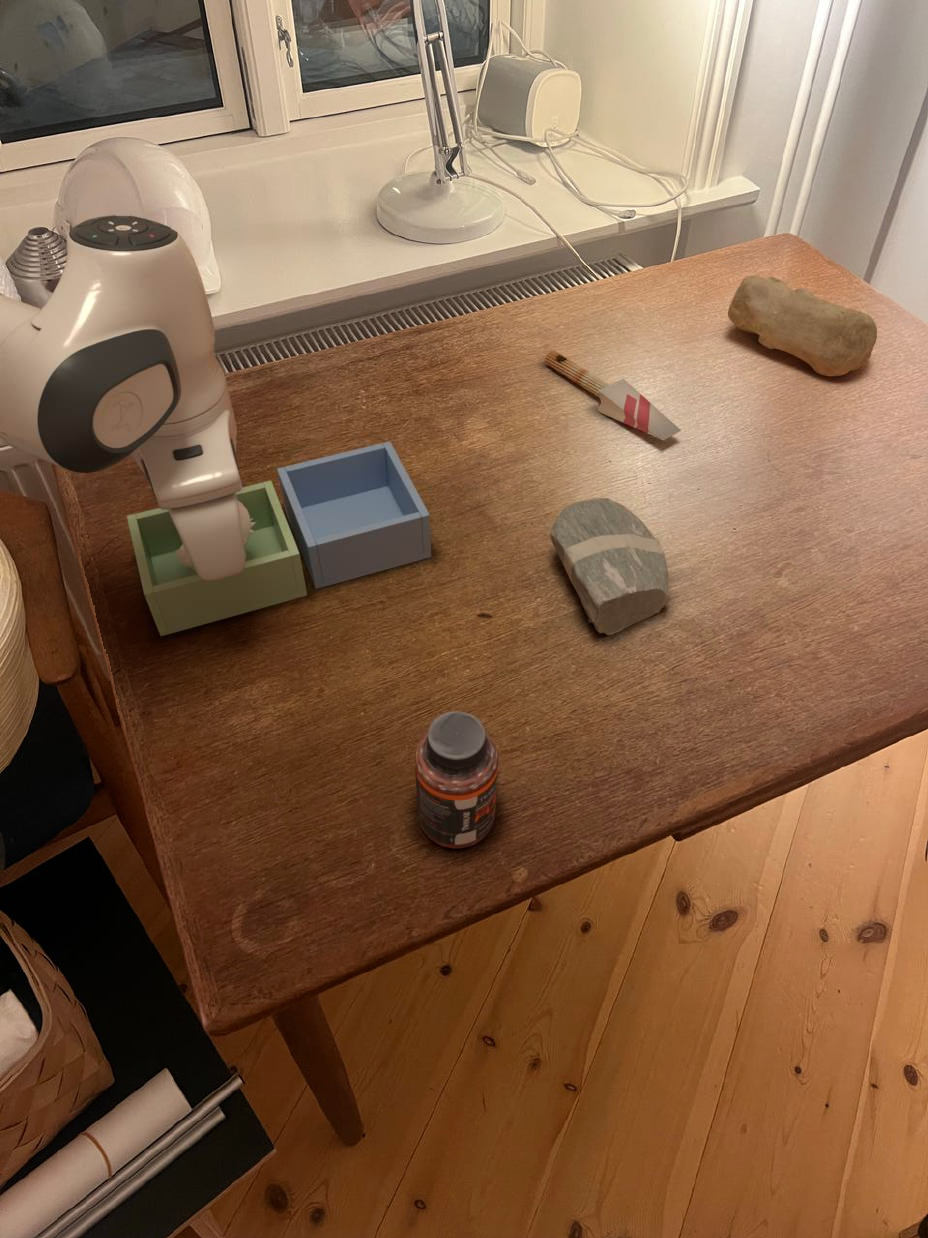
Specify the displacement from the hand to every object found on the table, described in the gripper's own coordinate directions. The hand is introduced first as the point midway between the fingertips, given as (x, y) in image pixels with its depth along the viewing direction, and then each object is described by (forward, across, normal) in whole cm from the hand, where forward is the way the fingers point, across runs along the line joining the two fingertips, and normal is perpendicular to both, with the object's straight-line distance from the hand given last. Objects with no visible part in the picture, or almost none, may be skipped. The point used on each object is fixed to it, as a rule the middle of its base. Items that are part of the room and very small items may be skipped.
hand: (213, 544), depth 84 cm
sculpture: (+4, -12, +73) cm, 74 cm away
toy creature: (+2, 0, 0) cm, 2 cm away
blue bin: (+4, -1, +14) cm, 14 cm away
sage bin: (+4, 0, 0) cm, 4 cm away
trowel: (+4, -11, +47) cm, 48 cm away
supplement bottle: (+5, +32, +12) cm, 34 cm away
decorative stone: (+4, +14, +34) cm, 37 cm away
